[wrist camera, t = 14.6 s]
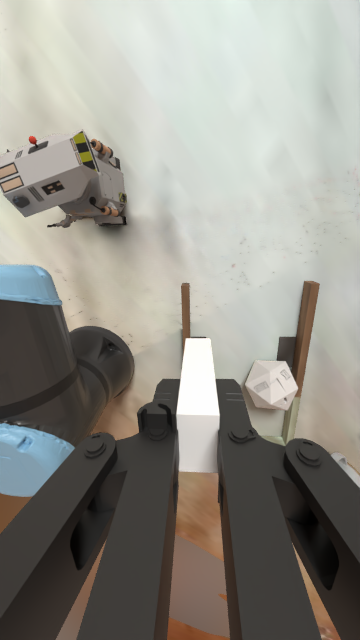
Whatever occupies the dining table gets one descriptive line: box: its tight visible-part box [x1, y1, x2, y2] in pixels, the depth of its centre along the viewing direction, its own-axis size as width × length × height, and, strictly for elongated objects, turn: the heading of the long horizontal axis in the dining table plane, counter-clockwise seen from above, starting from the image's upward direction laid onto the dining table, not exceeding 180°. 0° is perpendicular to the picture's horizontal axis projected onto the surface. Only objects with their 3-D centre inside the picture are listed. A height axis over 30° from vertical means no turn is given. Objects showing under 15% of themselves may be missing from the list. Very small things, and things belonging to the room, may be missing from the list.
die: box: [245, 360, 298, 410], centre depth 42 cm, size 8×9×10 cm
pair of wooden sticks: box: [181, 281, 320, 446], centre depth 43 cm, size 21×34×2 cm, turn 2°
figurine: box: [0, 129, 127, 228], centre depth 29 cm, size 9×12×15 cm
